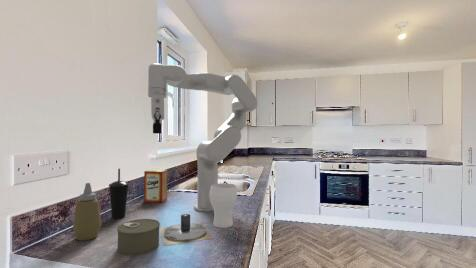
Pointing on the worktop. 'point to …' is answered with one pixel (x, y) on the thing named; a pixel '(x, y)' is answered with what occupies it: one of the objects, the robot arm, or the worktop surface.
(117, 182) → the drinking cup
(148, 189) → the baking soda box
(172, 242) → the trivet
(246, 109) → the robot arm
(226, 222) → the cup
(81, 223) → the squeeze bottle
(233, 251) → the worktop surface
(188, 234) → the lid
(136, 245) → the can
